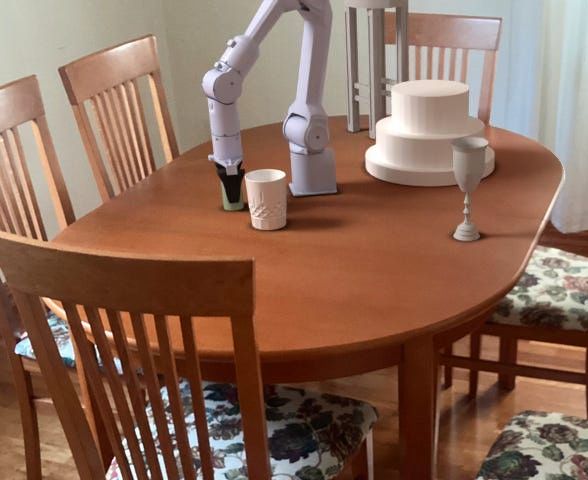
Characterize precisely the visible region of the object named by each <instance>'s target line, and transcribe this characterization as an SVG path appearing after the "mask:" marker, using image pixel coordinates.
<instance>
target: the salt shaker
mask: <svg viewBox="0 0 588 480" xmlns="http://www.w3.org/2000/svg"><path fill="white" fill-rule="evenodd" d="M220 187H221V196H222V206H223V209H224V210H226V211H231V212H232V211H235V212H236V211H241V210H242V209H244V208H245V202H244V201H245V200H244V192H243V182H242V183H241V191H240V201H239V203H229V202H228V199H227V196H226V192H225V188H224V186H223V183H222V181H221V180H220Z"/></svg>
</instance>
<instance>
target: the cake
mask: <svg viewBox="0 0 588 480" xmlns="http://www.w3.org/2000/svg"><path fill="white" fill-rule="evenodd" d="M390 91H391V97H390V98H391V115H390V116H386V118H384V119H382V120H380V121H378V122H377V123H376V139H375V144H374V145H373V144H372V145H371V146H370V147H369V148H368V149H367V150H366V151H365V154H364V157H365V158H364V159H365V169H366V171H367V172H368V173H369V174H370V175H371V176H373V177H375V178H377V179H379V180H382V181H385V182H388V183H392V184H396V185H397V184H398V185H404V186H413V187H446V186H455V185H458V183H457V180H456V178H455V175H454V171H453V147H452V145H451V141H452V140H454V139H457V138H462V137H478V138H483V139H485V129H486V127H485V126H486V125H485V122H484V121H483V120H481V119H480V118H478V117H475V116H472V115H469V114H470V86H469V85H468V84H466V83H463V82H460V81H455V80H449V79H448V80H446V79H415V80H409V81H407V82H402V83H398V84H396V85H394V86H392V85H391V90H390ZM495 155H496V153H495V150H494V149H493V148H492V147H491V146H489V145H487V147H486V152H485V170H484V173H483V175H482V178H481V179H484V178H486V177H487V176H489V175H490V174H491V173H493V171H494V169H495V159H496V158H495V157H496V156H495Z"/></svg>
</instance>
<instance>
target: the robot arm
mask: <svg viewBox="0 0 588 480" xmlns="http://www.w3.org/2000/svg"><path fill="white" fill-rule="evenodd" d="M293 11H297V13H298V14H299V15H300V17H301V18H302V19H303V20H304V24H303V25H304V26H303V33H302V43H301V52H300V61H299V70H298V77H297V78H298V79H297V87H296V88H297V89H296V95H295V101H293V102H292V104H291V105H289V107H288V113H287V116H286V118H285V120H284V121H283V125H282V134H283V137H284V138H285V140H286V141H287V142H288V145H289V153H290V164H291V165H290V167H291V168H290V169H291V181H292V182H290V183H288V187H289V189H290V191H291V193H292V196H293V197H303V196H317V195H327V194H337V193H338V190H337V169H336V157H335V151H334V149H333V147H327V146H328V143H329V141H330V130H329V126H328V122H329V121H328V120H329V117H328V114H327V112H326V111H325V108H324V106H323V99H324V90H325V82H326V74H327V68H328V66H327V65H328V58H329V50H330V42H331V35H332V26H333V18H334V17H333V15H334V14H333V9H332V4H331V0H263V1H262V3H261V4H260V6H259V7H258V9H257V10H256V13H255V14H254V16H253V18H252V20H251V22H250V23H249V25H248V26H247V28H246V30H245V31H244V34H241V35H236V36H234V37H233V39H231V38H230V39H229V40H228V42H226V46H227V48H226V50H225V51H224V53H223V54H222V56H221V57H220V58H219V60H218V61H215V63H214V64H213V67H214V68H211V70H208V71H207V72H206V73H205V74H204V76H203V78H202V83H201V84H200V90H201V92H202V94H203V96H205V97H206V99H207V105H208V115H209V123H210V133H211V134H210V135H211V140H212V141H211V142H212V149H213V154H208V156H207V157H208V161H210V162H214V165H215V167H216V174H217V176H218V177H219V179H220V182H221V181H222V183H223V186H224V188H225V192H226V196H227V199H228V202H229V203H239V201H240V191H241V183H242V184H243V179H244V178H245V175H246V169H245V168H242V164H243V160H244V159H245V154H244V153H243V146H242V144H243V143H242V136H241V135H242V134H241V124H240V123H241V122H240V113H239V103H238V99H239V98H240V97H241V96H242V93H243V83H244V80H245V78H246V77H247V75H248V74H249V72H250V71H251V70H252V68H253V66H254V65H255V64H256V62H257V61H258V59H259V57H260V55H261V52H260V51H261V50H260V45H261V43H262V42H263V41H264V39H265V38H266V37H267V36H268V34H269V33H270V31H272V29H273V28H274V26H275V25H276V24H277V22H278V21H279V20H280V18H281V17H282V16H283V14H285V13H290V12H293Z"/></svg>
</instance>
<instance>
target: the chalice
mask: <svg viewBox="0 0 588 480" xmlns="http://www.w3.org/2000/svg"><path fill="white" fill-rule="evenodd" d="M489 142H490V141H488V139H486V138H484V139H483V138H478V137H462V138H457V139H454V140H452V141H451V145H452V147H453V171H454V175H455V178H456V180H457V183H458V184H457V185H458V187H459V188H460V191H461V192H463V193H464V194H465V198H464V200H463V204H464V210H463V211H462V213H463V214H464V220H463V221H462V222H460V223H458V225H457V226H456V229H455V232H454V234H453V238H454V239H456V240H458V241H464V242H473V241H477V240H478V239H480V237H481V235H480V234H479V230H478V229H477V225H476V224H475V223H473V222H472V221H471V218H470V217H471V214H472V213H473V210H471V204H473V201H472V198H471V195H472V193H473V192H475V191H476V190H477V188H478V187H479V184H480V182H481V180H482V179H483V178H482V175H483V173H484V170H485V152H486V147H487V146H489V144H490V143H489Z"/></svg>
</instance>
